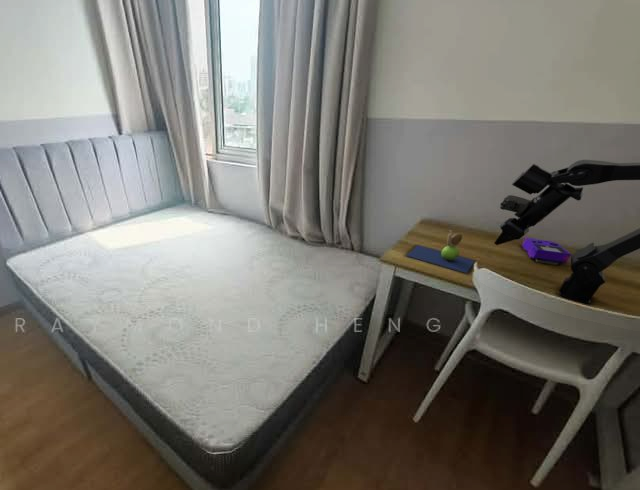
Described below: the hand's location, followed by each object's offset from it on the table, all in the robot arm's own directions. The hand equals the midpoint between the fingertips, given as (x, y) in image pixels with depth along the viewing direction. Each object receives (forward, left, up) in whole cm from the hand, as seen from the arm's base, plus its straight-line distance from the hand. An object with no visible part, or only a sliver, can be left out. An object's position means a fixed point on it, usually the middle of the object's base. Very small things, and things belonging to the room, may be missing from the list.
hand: (501, 239), depth 102 cm
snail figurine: (+12, +2, -11) cm, 17 cm away
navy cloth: (+15, +2, -11) cm, 19 cm away
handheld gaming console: (-12, -25, -12) cm, 30 cm away
